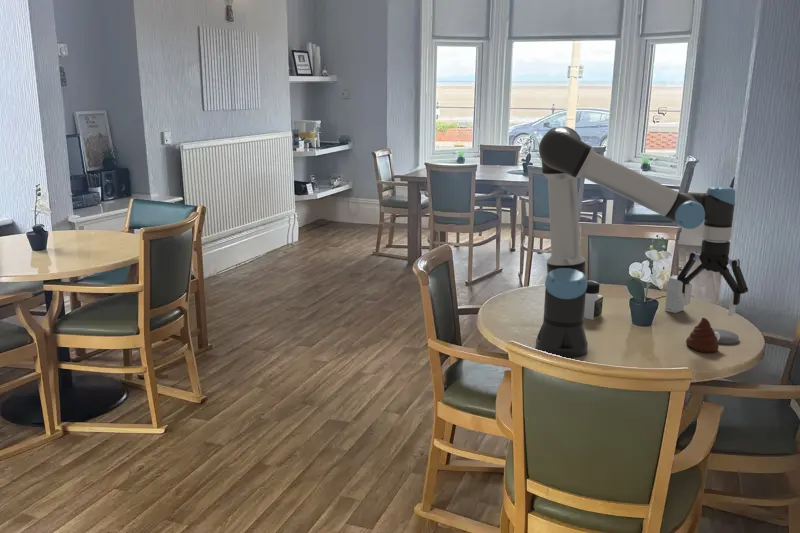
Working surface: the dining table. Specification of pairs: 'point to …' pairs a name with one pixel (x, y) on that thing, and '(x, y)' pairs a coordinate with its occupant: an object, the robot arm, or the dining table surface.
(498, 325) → the dining table surface
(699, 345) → the poop emoji
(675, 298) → the skincare box
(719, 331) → the coaster
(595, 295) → the medicine bottle
